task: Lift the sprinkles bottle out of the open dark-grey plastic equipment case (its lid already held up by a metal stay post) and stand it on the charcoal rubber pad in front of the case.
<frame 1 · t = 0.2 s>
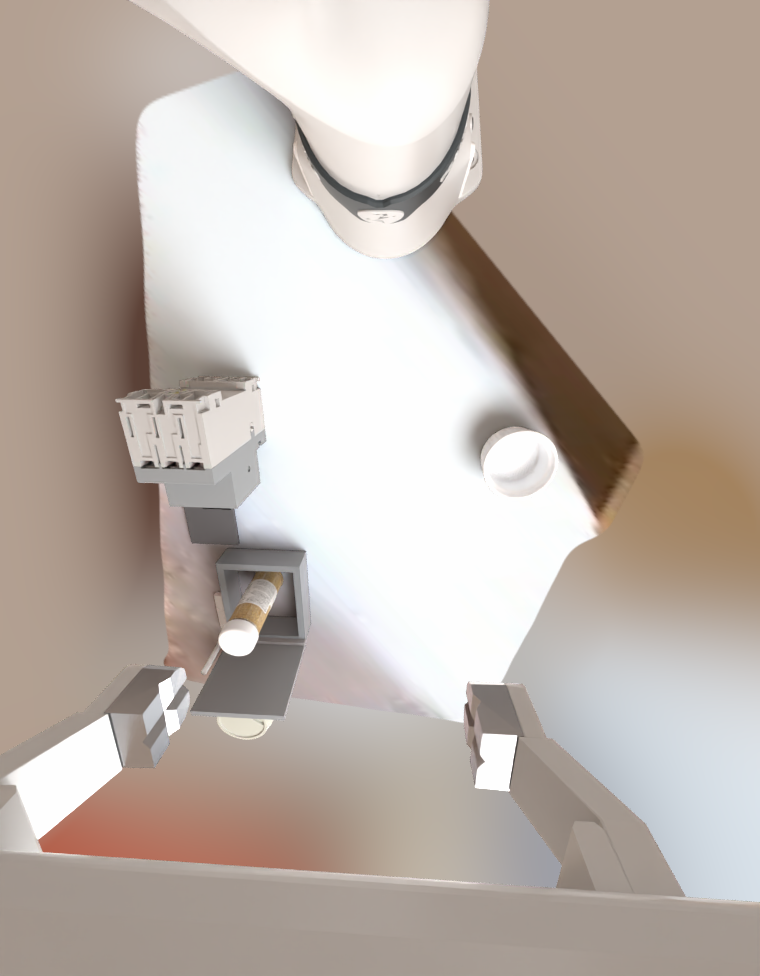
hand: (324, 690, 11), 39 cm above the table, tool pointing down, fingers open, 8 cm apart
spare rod: (224, 607, 61), on the table
circuit breaker: (237, 432, 49), on the table
pad: (212, 521, 54), on the table
ramekin: (509, 455, 48), on the table
coffee cup: (268, 654, 64), on the table
case: (271, 587, 58), on the table
sprinkles bottle: (270, 575, 58), resting in case
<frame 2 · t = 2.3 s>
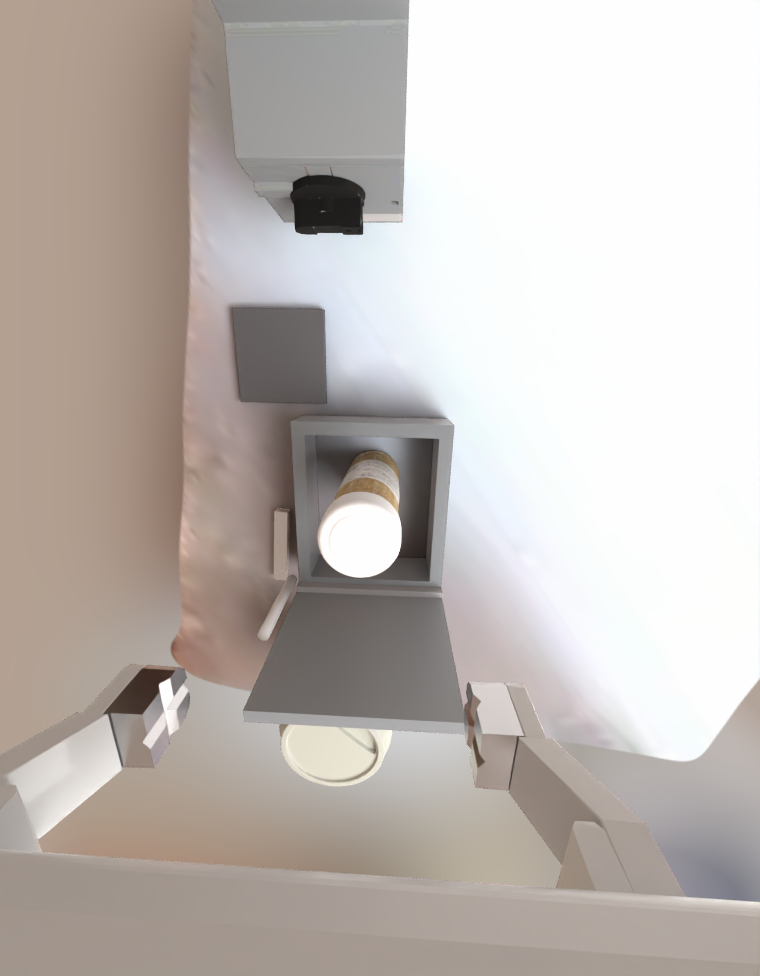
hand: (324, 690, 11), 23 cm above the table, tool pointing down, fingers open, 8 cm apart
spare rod: (284, 541, 35), on the table
circuit breaker: (350, 152, 25), on the table
pad: (282, 357, 29), on the table
coffee cup: (352, 632, 38), on the table
case: (373, 496, 33), on the table
sprinkles bottle: (374, 473, 32), resting in case
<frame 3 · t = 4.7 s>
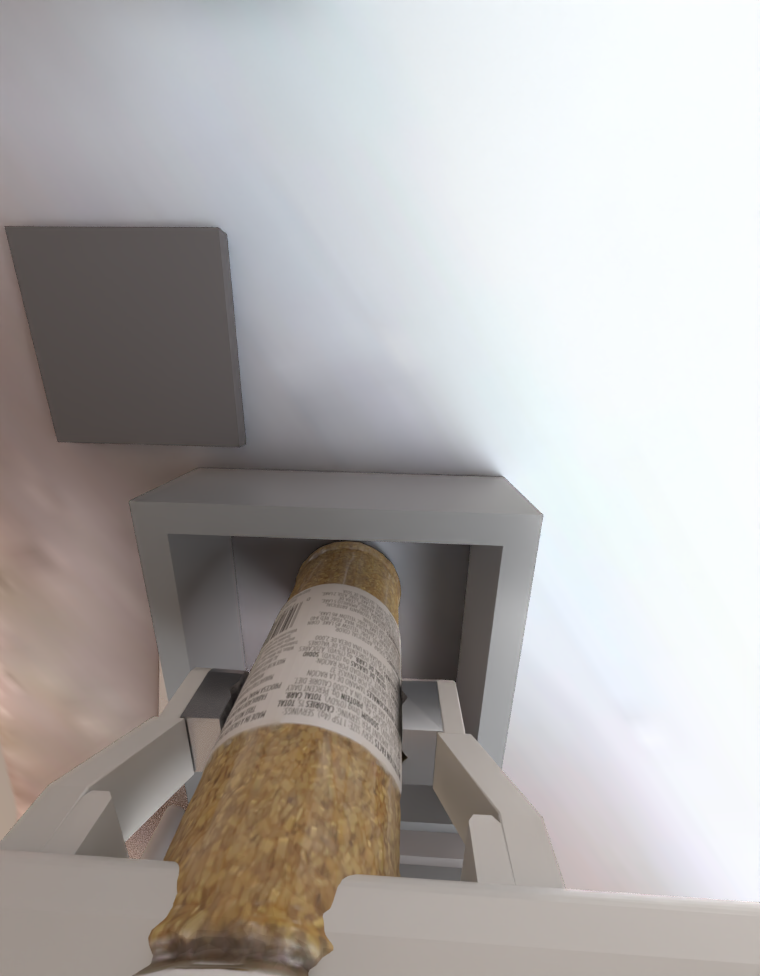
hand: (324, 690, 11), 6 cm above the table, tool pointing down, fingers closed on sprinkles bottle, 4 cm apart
pad: (142, 345, 13), on the table
case: (349, 622, 16), on the table
sprinkles bottle: (350, 581, 16), resting in case, touching gripper
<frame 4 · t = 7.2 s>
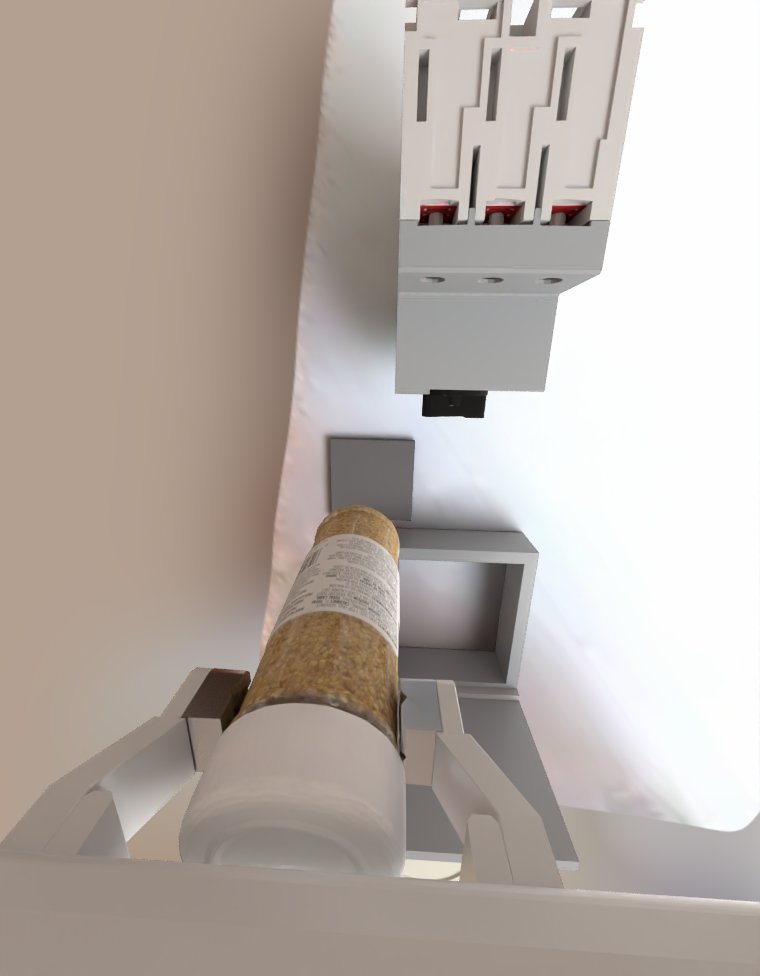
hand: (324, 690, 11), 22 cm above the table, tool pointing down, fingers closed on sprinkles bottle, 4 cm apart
circuit breaker: (447, 309, 28), on the table
pad: (372, 479, 32), on the table
coffee cup: (419, 715, 40), on the table
case: (448, 597, 35), on the table
sprinkles bottle: (358, 538, 20), point 13 cm above the table, touching gripper
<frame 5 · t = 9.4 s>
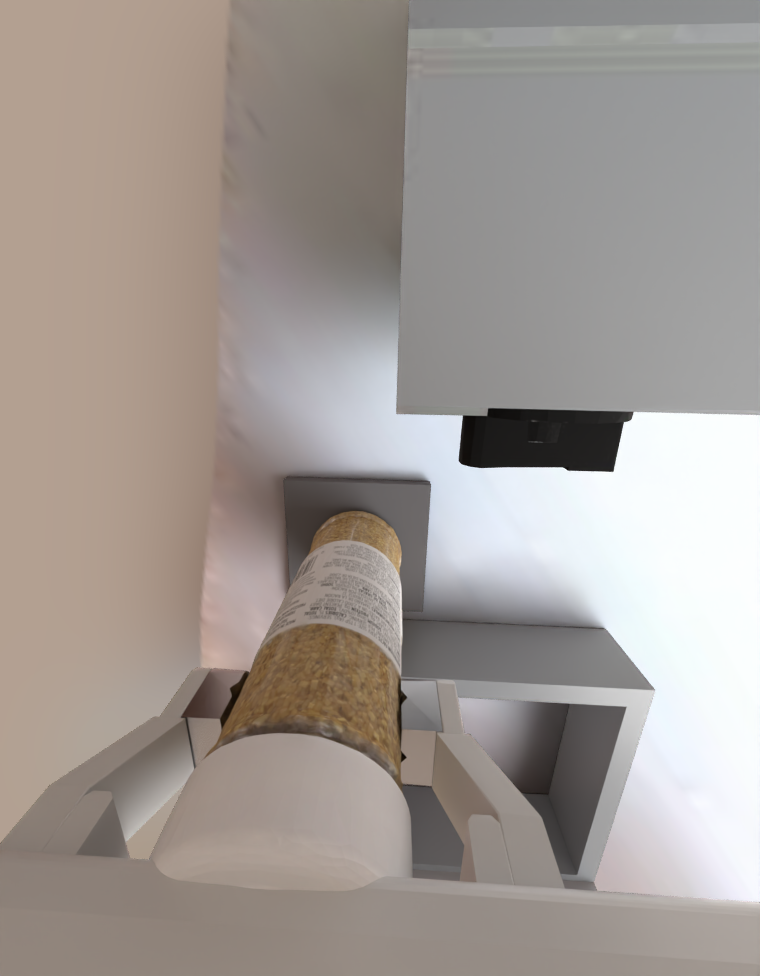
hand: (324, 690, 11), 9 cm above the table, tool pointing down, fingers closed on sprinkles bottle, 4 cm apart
circuit breaker: (494, 245, 15), on the table
pad: (357, 544, 19), on the table
case: (480, 720, 22), on the table
sprinkles bottle: (357, 547, 19), resting on pad, touching gripper
when the fingers open (8 cm above the table, at t = 10.2 s): sprinkles bottle stays where it is, resting on pad.
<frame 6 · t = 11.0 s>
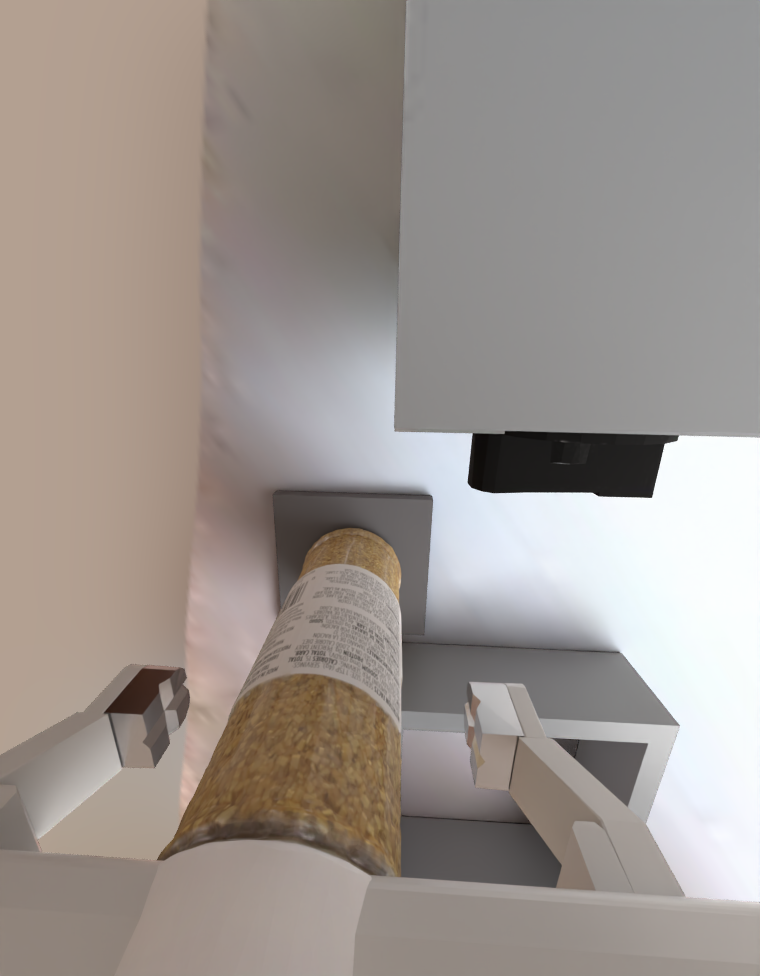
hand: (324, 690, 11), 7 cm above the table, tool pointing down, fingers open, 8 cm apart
circuit breaker: (502, 239, 14), on the table
pad: (353, 562, 18), on the table
case: (486, 749, 21), on the table
sprinkles bottle: (353, 566, 17), resting on pad
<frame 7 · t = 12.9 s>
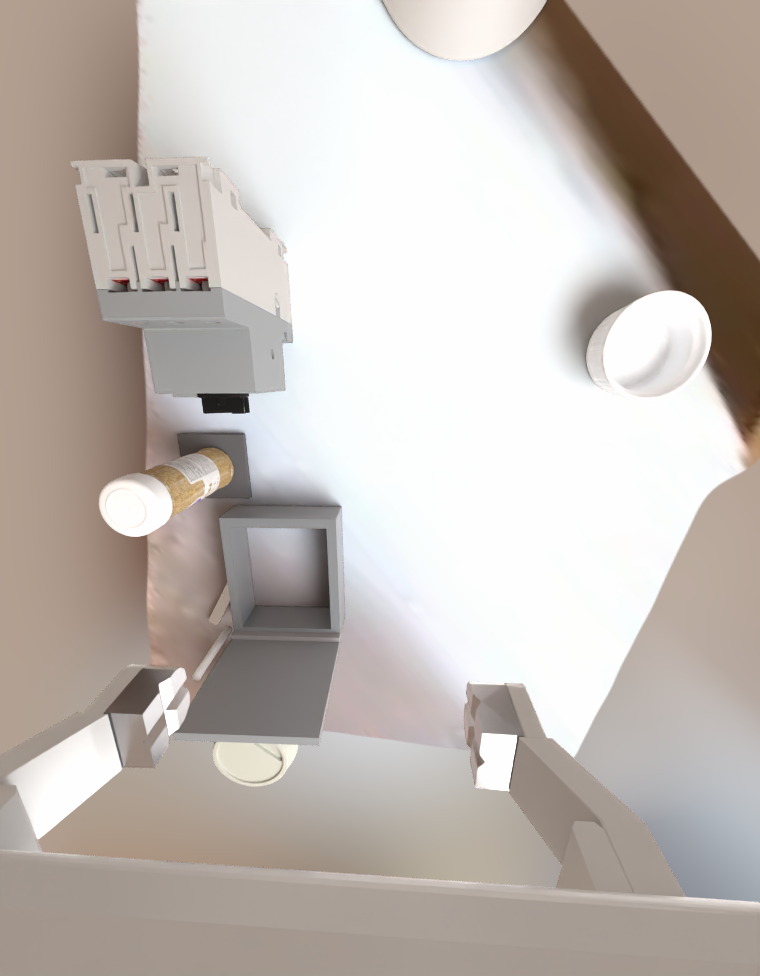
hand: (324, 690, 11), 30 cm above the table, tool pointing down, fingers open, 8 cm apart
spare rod: (227, 596, 45), on the table
circuit breaker: (255, 332, 36), on the table
pad: (216, 465, 40), on the table
ramekin: (625, 351, 35), on the table
coffee cup: (285, 665, 47), on the table
case: (292, 562, 43), on the table
sprinkles bottle: (215, 466, 40), resting on pad
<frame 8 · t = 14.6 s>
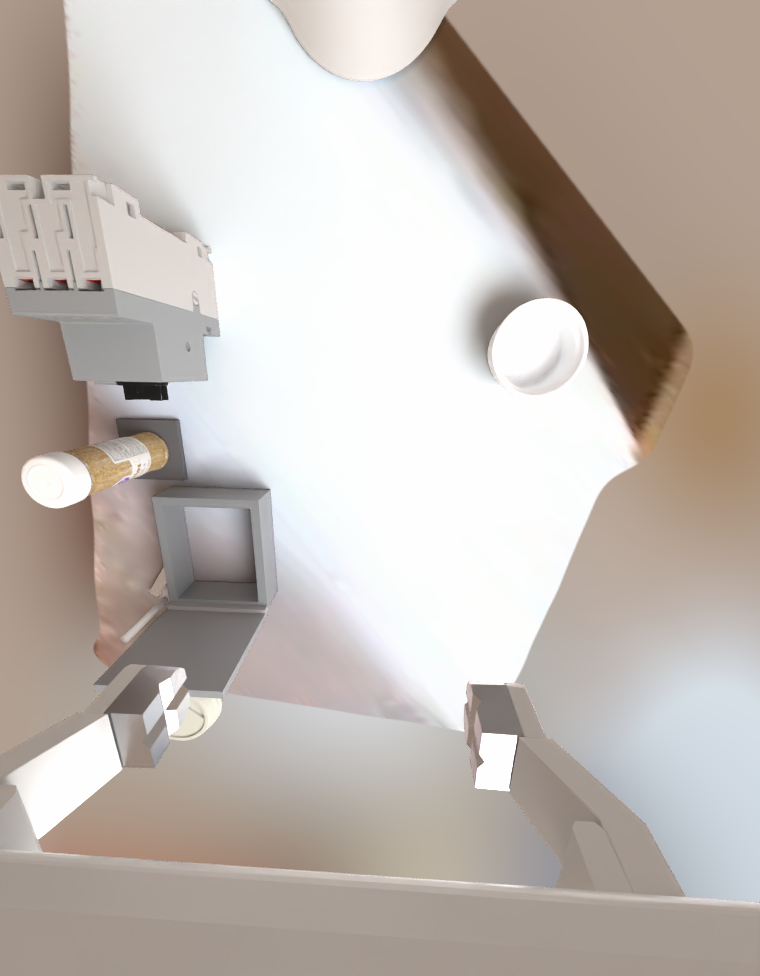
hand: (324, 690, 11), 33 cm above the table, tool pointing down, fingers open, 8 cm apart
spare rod: (169, 571, 49), on the table
circuit breaker: (185, 325, 39), on the table
pad: (154, 449, 43), on the table
ramekin: (524, 352, 39), on the table
coffee cup: (225, 637, 51), on the table
case: (227, 540, 46), on the table
sprinkles bottle: (152, 449, 43), resting on pad
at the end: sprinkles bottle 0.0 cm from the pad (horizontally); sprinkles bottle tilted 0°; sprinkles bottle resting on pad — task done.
